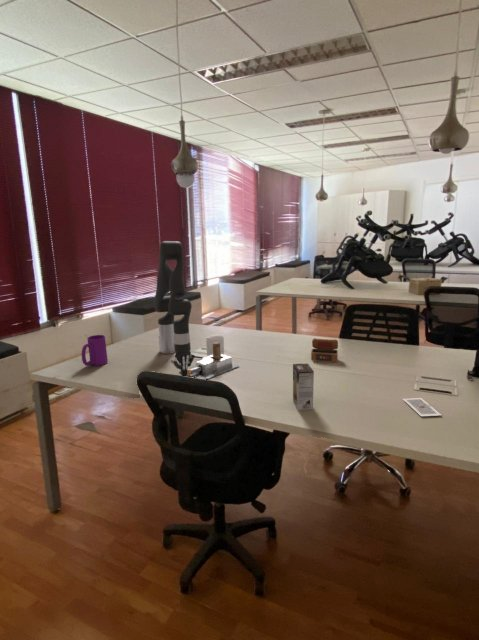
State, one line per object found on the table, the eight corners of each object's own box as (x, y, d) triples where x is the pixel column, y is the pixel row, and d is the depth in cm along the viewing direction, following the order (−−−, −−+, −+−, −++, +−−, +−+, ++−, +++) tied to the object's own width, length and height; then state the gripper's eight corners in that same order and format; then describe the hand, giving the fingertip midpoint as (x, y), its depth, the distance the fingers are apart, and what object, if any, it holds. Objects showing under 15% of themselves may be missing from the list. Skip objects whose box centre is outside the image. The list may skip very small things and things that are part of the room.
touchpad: (420, 419, 143) (421, 413, 143) (402, 401, 158) (402, 396, 157) (441, 417, 144) (442, 412, 143) (421, 400, 158) (421, 395, 158)
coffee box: (292, 400, 160) (292, 363, 157) (307, 399, 161) (308, 362, 157) (297, 410, 151) (297, 371, 148) (313, 409, 152) (314, 370, 148)
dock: (179, 372, 195) (178, 362, 194) (215, 359, 213) (214, 350, 212) (203, 381, 183) (202, 371, 182) (239, 366, 201) (238, 357, 200)
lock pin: (186, 374, 189) (185, 369, 188) (206, 367, 198) (206, 362, 197) (189, 376, 187) (189, 370, 186) (210, 368, 196) (209, 363, 196)
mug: (111, 361, 215) (108, 335, 212) (90, 371, 201) (87, 343, 198) (98, 359, 219) (95, 334, 215) (77, 369, 205) (73, 341, 201)
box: (294, 367, 200) (294, 345, 197) (301, 350, 226) (302, 331, 223) (350, 371, 191) (351, 349, 189) (352, 354, 217) (352, 334, 215)
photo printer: (221, 353, 224) (220, 332, 222) (225, 354, 221) (224, 334, 218) (205, 356, 219) (204, 335, 216) (209, 358, 215) (208, 337, 213)
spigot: (212, 366, 202) (210, 343, 199) (217, 363, 205) (216, 342, 202) (217, 367, 199) (216, 345, 197) (222, 365, 202) (221, 343, 199)
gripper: (188, 337, 190) (190, 370, 194) (165, 343, 180) (168, 378, 184) (198, 339, 185) (199, 374, 189) (175, 346, 175) (178, 382, 179)
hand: (184, 376), depth 186 cm, fingers closed
